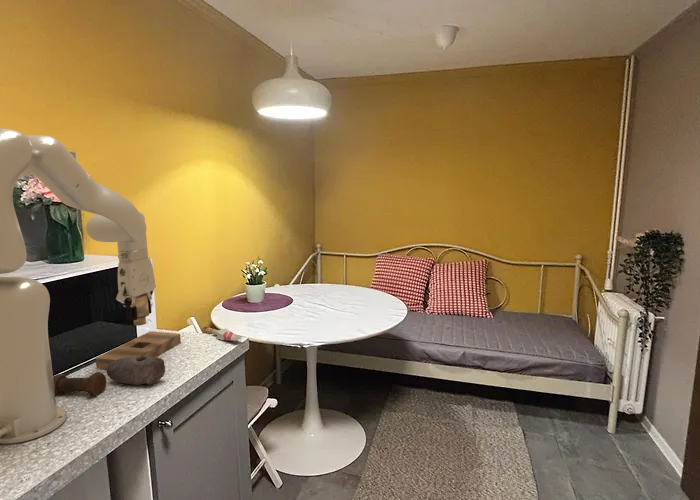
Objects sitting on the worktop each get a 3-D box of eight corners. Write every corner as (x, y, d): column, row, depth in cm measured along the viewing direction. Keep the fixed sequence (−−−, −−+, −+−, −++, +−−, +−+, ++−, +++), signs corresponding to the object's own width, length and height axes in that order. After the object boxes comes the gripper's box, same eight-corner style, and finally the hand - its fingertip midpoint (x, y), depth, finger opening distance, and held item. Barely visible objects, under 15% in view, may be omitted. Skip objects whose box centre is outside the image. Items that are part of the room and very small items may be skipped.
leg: (141, 327, 122) (138, 298, 120) (126, 326, 123) (123, 297, 122) (153, 321, 127) (151, 293, 125) (138, 320, 128) (136, 292, 127)
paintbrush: (232, 336, 132) (198, 326, 145) (233, 345, 132) (199, 334, 145) (243, 333, 135) (208, 323, 148) (244, 341, 135) (209, 331, 148)
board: (130, 372, 114) (129, 361, 114) (96, 368, 117) (95, 358, 116) (180, 342, 135) (180, 333, 135) (150, 340, 138) (150, 331, 137)
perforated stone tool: (101, 385, 107) (98, 359, 106) (115, 376, 112) (113, 351, 111) (155, 389, 104) (153, 363, 103) (168, 380, 109) (166, 354, 108)
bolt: (45, 398, 104) (103, 397, 103) (28, 397, 100) (90, 397, 99) (51, 373, 107) (108, 372, 105) (35, 371, 102) (95, 370, 101)
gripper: (122, 261, 112) (129, 327, 116) (164, 250, 129) (169, 308, 132) (98, 260, 114) (105, 325, 117) (142, 250, 131) (148, 306, 134)
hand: (139, 315), depth 125 cm, fingers closed on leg, 5 cm apart
